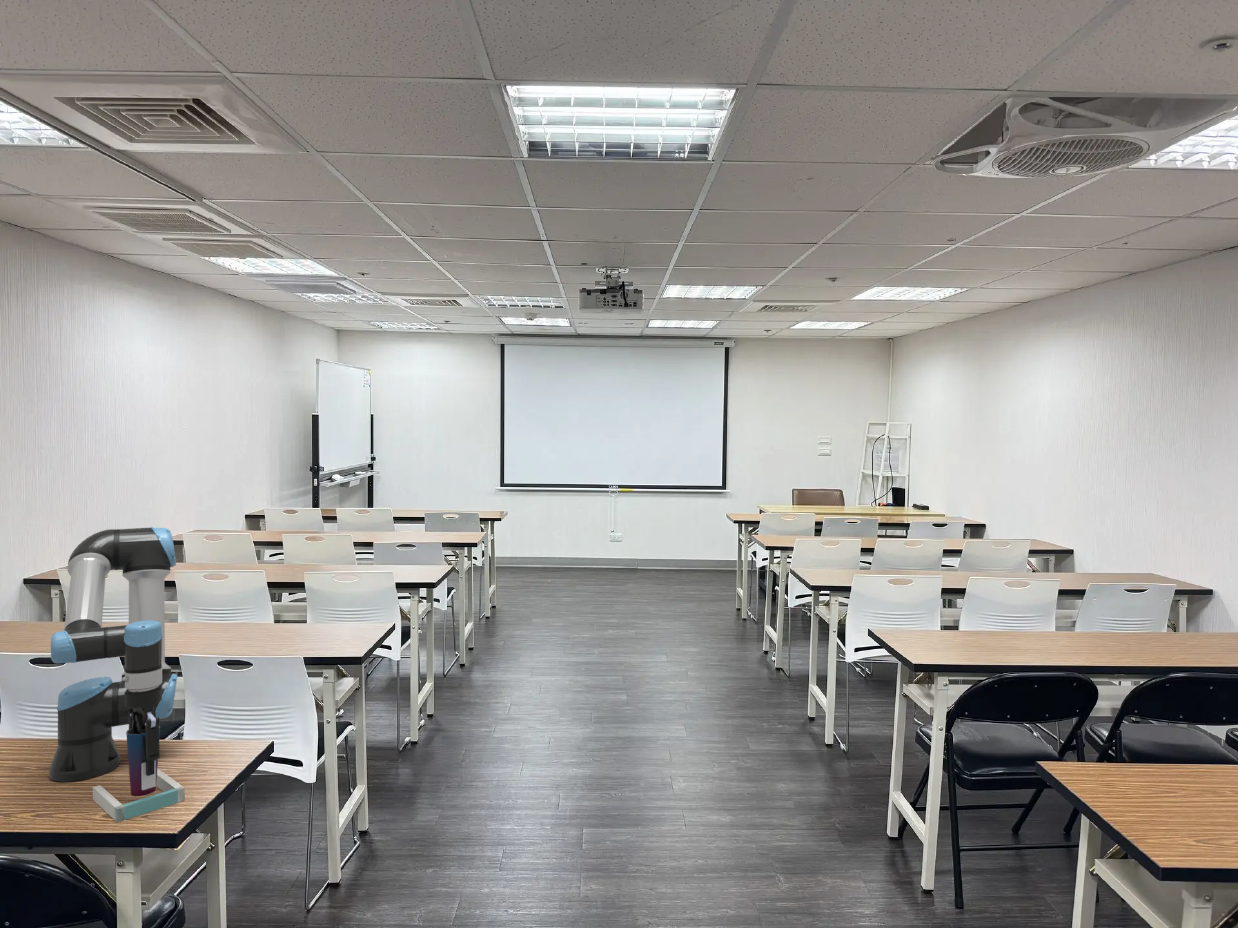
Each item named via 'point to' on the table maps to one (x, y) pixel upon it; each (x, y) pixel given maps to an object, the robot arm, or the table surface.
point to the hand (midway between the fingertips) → (143, 783)
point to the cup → (137, 763)
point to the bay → (122, 812)
